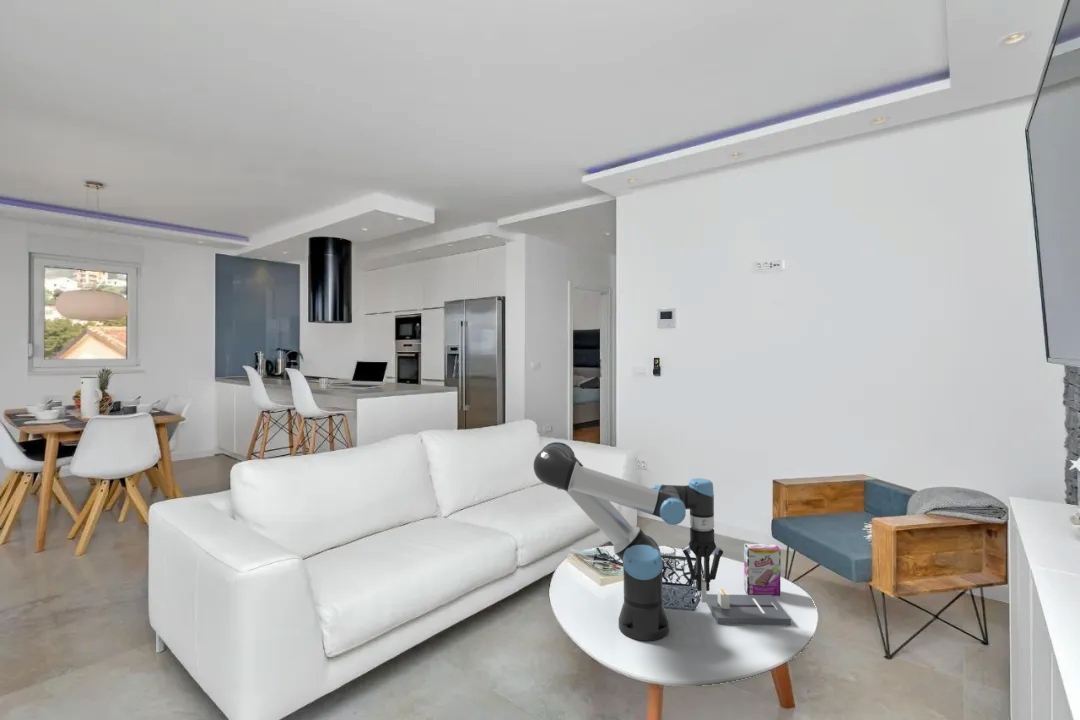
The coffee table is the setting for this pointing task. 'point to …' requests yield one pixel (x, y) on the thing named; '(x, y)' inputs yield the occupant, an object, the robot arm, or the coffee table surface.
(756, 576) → the candy bar box
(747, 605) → the console
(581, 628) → the coffee table surface
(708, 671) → the coffee table surface
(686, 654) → the coffee table surface
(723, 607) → the fader cap
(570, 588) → the coffee table surface
